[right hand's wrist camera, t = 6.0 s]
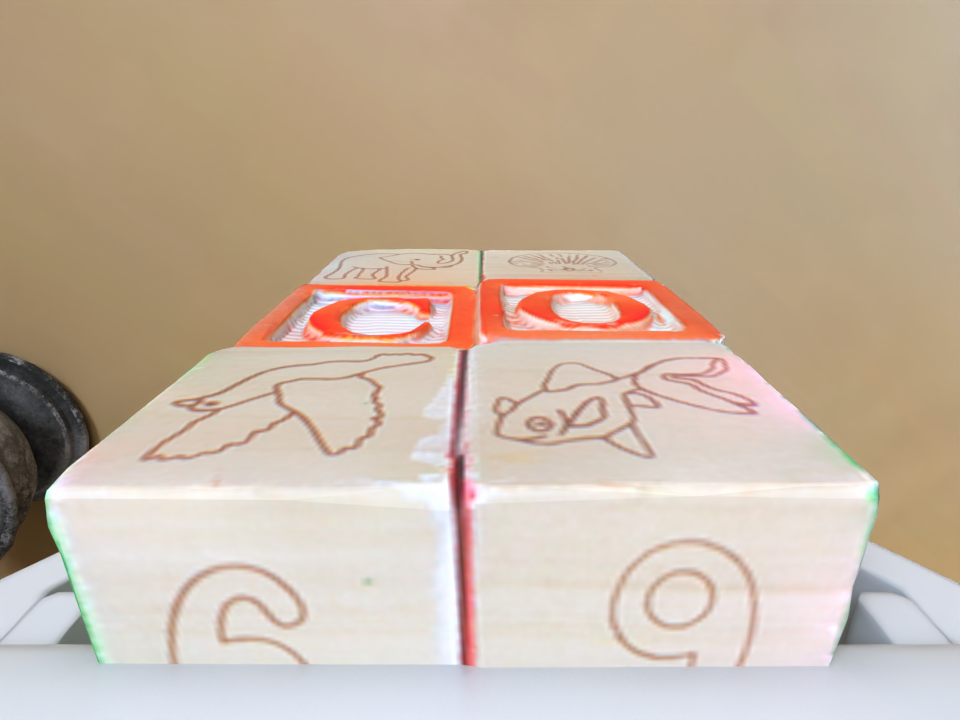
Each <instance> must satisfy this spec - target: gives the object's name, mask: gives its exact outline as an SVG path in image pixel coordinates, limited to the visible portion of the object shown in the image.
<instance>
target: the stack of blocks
mask: <svg viewBox="0 0 960 720" xmlns="http://www.w3.org/2000/svg"><path fill="white" fill-rule="evenodd" d="M724 343H725V336H724V335H723V334H722V333H721V332H720V331H719V330H718V329H717V328H716V327H714V326H713V325H712V324H711V323H710V322H709V321H707V320H706V319H705V318H704V317H703V316H701V315H700V314H699V313H698V312H697V311H695V310H694V309H693V308H692V307H691V306H689V305H688V304H687V303H686V302H684V301H683V300H682V299H681V298H679V297H678V296H677V295H675V294H674V293H673V292H672V291H671V290H669V289H668V288H667V287H666V286H665V285H663V284H661V283H658V282H656V281H655V280H654V278H653V277H652V276H650V275H649V274H647V273H646V272H645V271H643V270H642V269H641V268H639V267H638V266H637V265H636V264H635V263H633V262H632V261H630V260H629V259H628V258H627V257H626V256H624V255H623V254H622V253H621V252H618V251H615V250H591V251H555V250H491V251H478V250H458V249H390V250H365V251H349V252H346V253H343V254H340V255H339V256H338V257H336V258H335V259H334V260H333V261H331V262H330V263H329V264H328V265H327V266H326V267H325V268H324V269H323V270H322V271H321V272H320V273H319V274H318V275H317V276H316V277H314V278H313V279H312V280H311V281H310V282H309V283H308V284H305V285H303V286H300V287H298V288H297V289H295V290H294V291H293V292H292V293H291V294H290V295H289V296H288V297H287V298H285V299H284V300H283V301H282V302H281V303H280V304H279V305H277V306H276V307H275V308H274V309H273V310H272V311H271V312H269V313H268V314H267V315H266V316H265V317H263V318H262V319H261V320H260V321H259V322H258V323H256V324H255V325H254V326H253V327H252V328H251V329H250V330H249V331H248V332H247V333H246V334H245V335H244V336H243V337H242V338H241V339H240V340H239V341H238V342H237V343H236V344H235V346H234V347H232V348H227V349H221V350H219V351H216V352H213V353H210V354H208V355H207V356H206V357H205V358H204V359H203V360H201V361H200V362H199V363H198V364H197V365H196V366H195V367H193V368H192V369H191V370H189V371H188V372H187V373H185V374H184V375H183V376H182V377H181V378H180V379H178V380H177V381H176V382H175V383H174V384H172V385H171V386H170V387H168V388H167V389H166V390H165V391H163V392H162V393H161V394H159V395H158V396H157V397H156V398H154V399H153V400H152V401H151V402H149V403H148V404H147V405H146V406H144V407H143V408H142V409H141V410H139V411H138V412H137V413H136V414H135V415H133V416H132V417H131V418H130V419H129V420H127V421H126V422H125V423H124V424H122V425H121V426H120V427H119V428H117V429H116V430H115V431H114V432H112V433H111V434H110V435H109V436H107V437H106V438H105V439H104V440H102V441H101V442H100V443H99V444H97V445H96V446H95V447H94V448H92V449H91V450H90V451H89V452H87V453H86V454H85V455H84V456H82V457H81V458H80V459H79V460H77V461H76V462H75V463H73V464H72V465H71V466H70V467H68V468H67V469H66V470H65V472H64V473H63V474H62V475H61V476H60V477H59V478H58V479H57V480H56V481H55V482H54V483H53V484H52V485H51V487H50V488H49V489H48V490H47V491H46V495H45V505H46V514H47V522H48V528H49V530H50V532H51V535H52V537H53V539H54V541H55V543H56V546H57V548H58V550H59V552H60V555H61V557H62V560H63V563H64V566H65V569H66V572H67V575H68V578H69V581H70V584H71V586H72V589H73V592H74V595H75V598H76V601H77V604H78V607H79V610H80V613H81V615H82V618H83V621H84V624H85V627H86V629H87V632H88V635H89V638H90V641H91V643H92V646H93V649H94V652H95V655H96V657H97V661H98V662H99V663H100V664H408V665H467V666H474V667H480V668H582V667H733V666H829V665H830V663H831V661H832V658H833V655H834V652H835V650H836V647H837V644H838V642H839V639H840V637H841V634H842V632H843V629H844V627H845V624H846V621H847V619H848V615H849V608H850V601H851V595H852V588H853V584H854V582H855V580H856V577H857V575H858V573H859V570H860V567H861V563H862V560H863V557H864V553H865V550H866V547H867V544H868V540H869V537H870V534H871V531H872V528H873V525H874V522H875V519H876V516H877V512H878V505H879V483H878V482H877V481H876V480H875V479H874V478H873V477H872V476H871V475H870V474H868V473H867V472H866V471H865V470H864V469H863V468H862V467H861V466H859V465H858V464H857V463H856V462H855V461H854V460H853V459H852V458H851V457H850V456H848V455H847V454H846V453H845V452H844V451H843V450H842V449H841V448H840V447H839V446H838V445H837V444H835V443H834V442H833V441H832V440H831V439H830V438H829V437H828V436H827V435H826V434H825V433H824V432H823V431H822V430H821V429H819V428H818V427H817V426H816V425H815V424H814V423H813V422H812V421H811V420H809V419H808V418H807V417H806V416H805V415H804V414H803V413H802V412H800V411H799V410H798V409H797V408H796V407H795V406H794V405H793V404H791V403H790V402H789V401H788V400H787V399H786V398H784V397H783V396H782V395H781V394H780V393H779V392H777V391H776V390H775V389H774V388H773V387H772V386H771V385H769V384H768V383H767V382H766V381H765V380H764V379H763V378H762V377H761V376H760V375H759V374H758V373H757V372H756V371H755V370H754V369H753V368H752V367H750V366H749V365H748V364H747V363H746V362H744V361H743V360H742V359H741V358H739V357H738V356H736V355H734V354H733V353H732V351H731V350H730V349H729V348H728V347H726V346H724Z"/></svg>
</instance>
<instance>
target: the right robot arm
mask: <svg viewBox="0 0 960 720" xmlns="http://www.w3.org/2000/svg"><path fill="white" fill-rule="evenodd" d="M0 720H960V584H959V583H957V582H955V581H953V580H951V579H949V578H947V577H944V576H942V575H940V574H938V573H936V572H934V571H932V570H930V569H928V568H926V567H923V566H921V565H919V564H917V563H915V562H913V561H911V560H909V559H907V558H904V557H902V556H900V555H898V554H896V553H894V552H892V551H890V550H888V549H886V548H883V547H881V546H879V545H877V544H875V543H873V542H871V541H869V540H868V544H867V547H866V550H865V553H864V557H863V560H862V563H861V567H860V570H859V573H858V575H857V577H856V580H855V582H854V584H853V588H852V595H851V601H850V608H849V615H848V619H847V621H846V624H845V627H844V629H843V632H842V634H841V637H840V639H839V642H838V644H837V647H836V650H835V652H834V655H833V658H832V661H831V663H830V665H829V666H733V667H582V668H480V667H474V666H467V665H408V664H100V663H99V662H98V661H97V657H96V655H95V652H94V649H93V646H92V643H91V641H90V638H89V635H88V632H87V629H86V627H85V624H84V621H83V618H82V615H81V613H80V610H79V607H78V604H77V601H76V598H75V595H74V592H73V589H72V586H71V584H70V581H69V578H68V575H67V572H66V569H65V566H64V563H63V560H62V557H61V555H60V552H58V553H56V554H54V555H52V556H50V557H47V558H45V559H43V560H41V561H39V562H37V563H35V564H33V565H30V566H28V567H26V568H24V569H22V570H20V571H18V572H15V573H13V574H11V575H9V576H7V577H5V578H3V579H1V580H0Z"/></svg>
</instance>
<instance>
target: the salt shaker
mask: <svg viewBox="0 0 960 720" xmlns="http://www.w3.org/2000/svg"><path fill="white" fill-rule="evenodd" d="M87 452H89V434H88V431H87V427H86V424H85V421H84V417H83V415H82V414H81V412H80V410H79V409H78V407H77V405H76V404H75V402H74V400H73V398H72V397H71V396H70V395H69V394H68V393H67V392H66V391H65V390H64V388H63V387H62V386H61V385H60V384H59V383H58V382H57V381H56V380H55V379H54V378H52V377H51V376H49V375H48V374H46V373H45V372H44V371H42V370H41V369H39V368H38V367H37V366H35V365H33V364H31V363H29V362H27V361H24V360H22V359H20V358H17V357H15V356H13V355H10V354H6V353H1V352H0V560H1V559H2V558H3V556H4V555H5V554H6V553H7V551H8V550H9V549H10V548H11V547H12V545H13V542H14V539H15V536H16V533H17V530H18V527H19V526H20V524H21V523H22V522H23V521H24V519H25V517H26V514H27V512H28V510H29V507H30V505H31V503H32V501H34V500H40V499H44V498H45V495H46V491H47V490H48V489H49V488H50V487H51V485H52V484H53V483H54V482H55V481H56V480H57V479H58V478H59V477H60V476H61V475H62V474H63V473H64V472H65V470H66V469H67V468H68V467H70V466H71V465H72V464H73V463H75V462H76V461H77V460H79V459H80V458H81V457H82V456H84V455H85V454H86V453H87Z"/></svg>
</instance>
